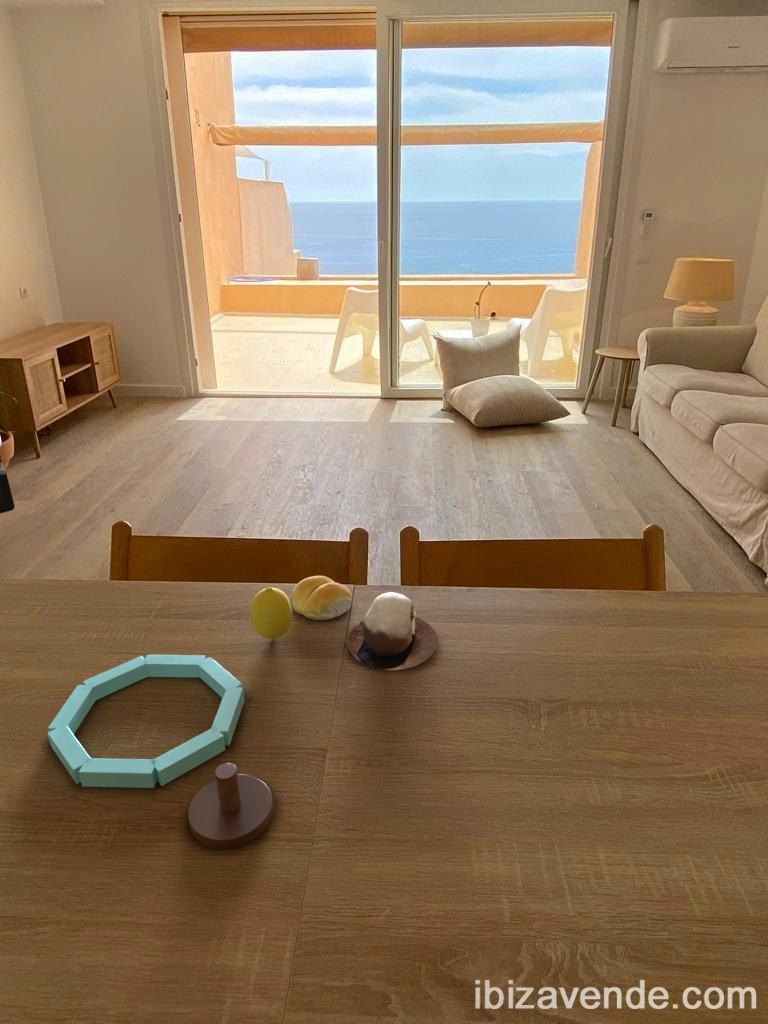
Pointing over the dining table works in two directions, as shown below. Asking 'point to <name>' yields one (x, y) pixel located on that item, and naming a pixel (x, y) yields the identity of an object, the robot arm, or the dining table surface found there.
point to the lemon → (271, 613)
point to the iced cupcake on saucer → (392, 635)
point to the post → (230, 809)
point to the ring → (171, 762)
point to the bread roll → (321, 598)
